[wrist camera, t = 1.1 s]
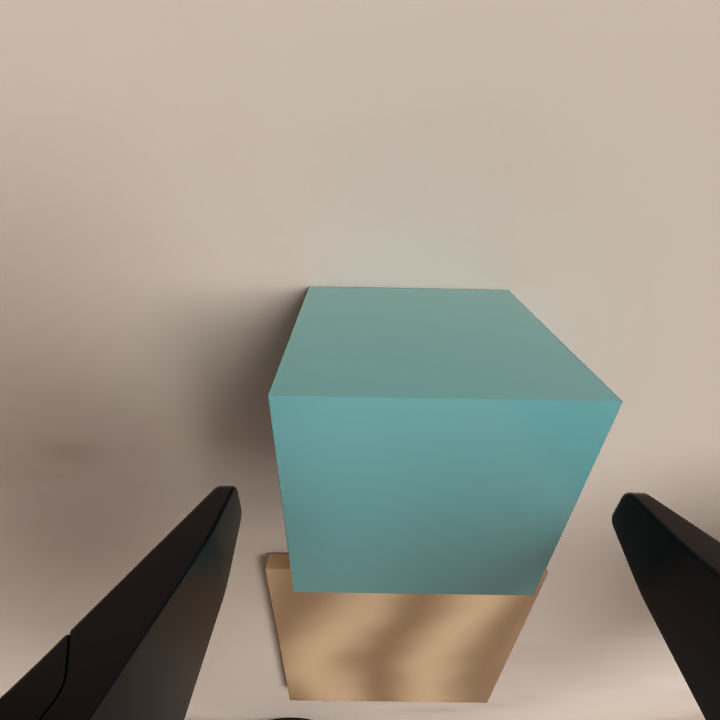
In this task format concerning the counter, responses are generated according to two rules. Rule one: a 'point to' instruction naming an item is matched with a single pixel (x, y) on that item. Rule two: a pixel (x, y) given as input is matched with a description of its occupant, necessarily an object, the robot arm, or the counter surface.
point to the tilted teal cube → (429, 441)
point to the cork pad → (392, 641)
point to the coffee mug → (290, 719)
